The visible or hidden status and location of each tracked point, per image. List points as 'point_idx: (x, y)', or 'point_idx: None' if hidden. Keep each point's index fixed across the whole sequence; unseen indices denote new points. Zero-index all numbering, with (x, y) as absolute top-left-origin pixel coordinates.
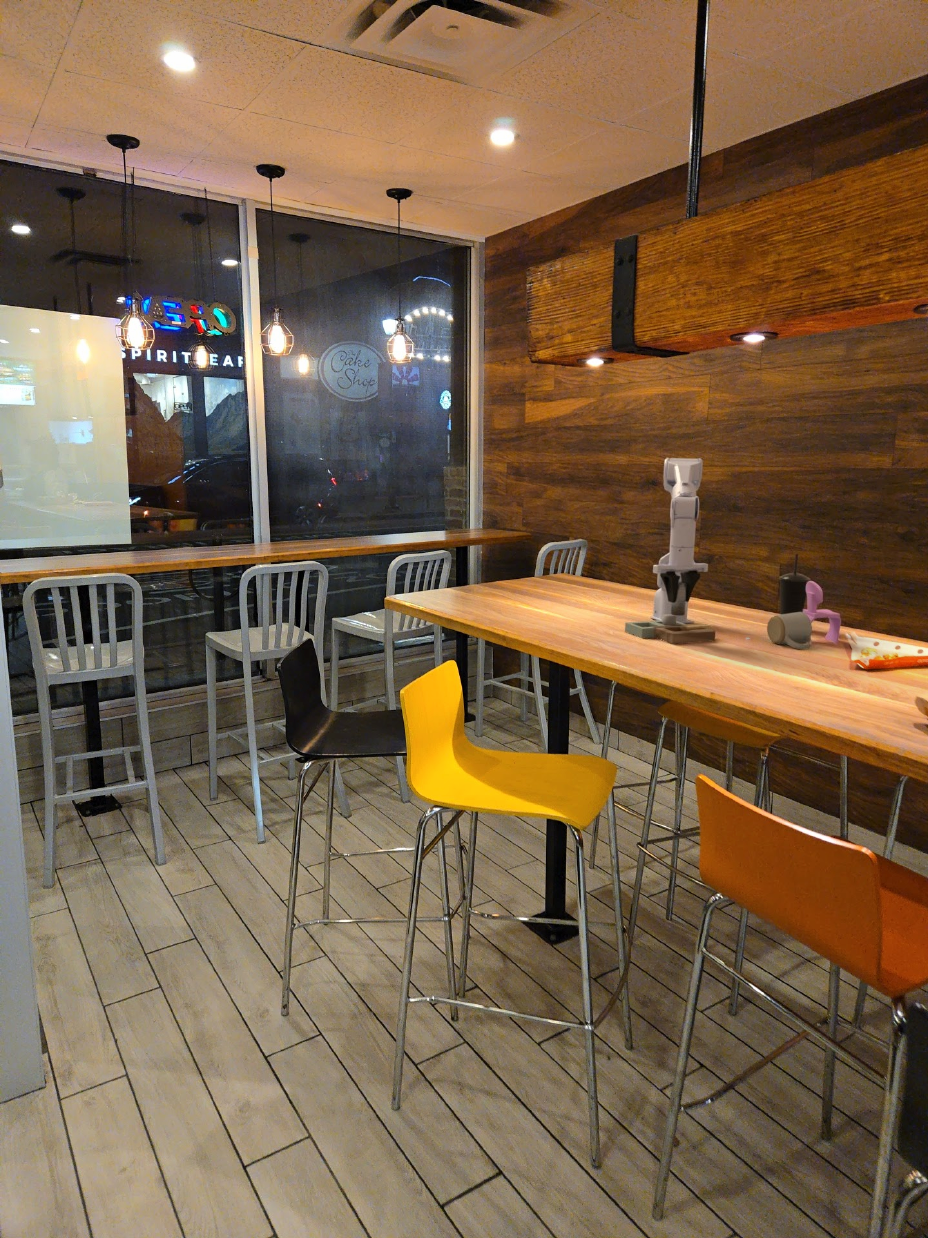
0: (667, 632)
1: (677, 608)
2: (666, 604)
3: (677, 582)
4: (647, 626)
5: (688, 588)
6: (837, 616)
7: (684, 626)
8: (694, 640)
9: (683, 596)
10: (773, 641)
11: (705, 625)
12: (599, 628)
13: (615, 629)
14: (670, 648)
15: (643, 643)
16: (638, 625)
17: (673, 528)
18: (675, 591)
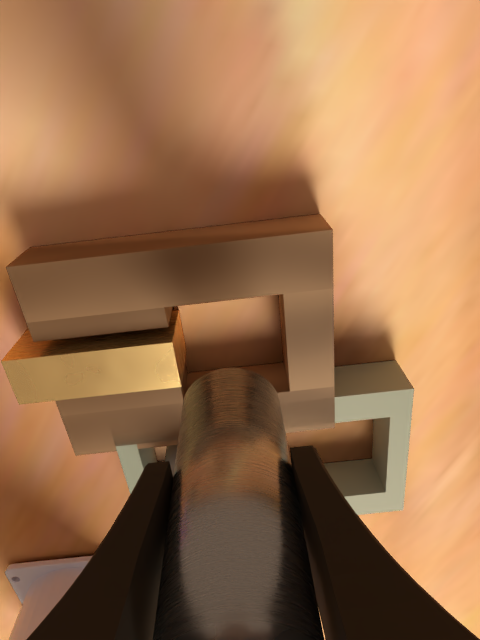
0: (332, 283)
1: (264, 405)
2: None
3: (357, 620)
4: None
5: (142, 575)
6: None
7: (177, 364)
8: (168, 233)
9: (221, 478)
10: None
11: (33, 369)
12: (450, 531)
13: (398, 512)
14: (396, 104)
15: (462, 256)
16: (344, 486)
17: None
18: (330, 519)
